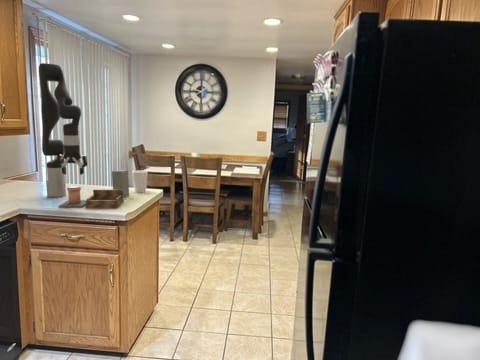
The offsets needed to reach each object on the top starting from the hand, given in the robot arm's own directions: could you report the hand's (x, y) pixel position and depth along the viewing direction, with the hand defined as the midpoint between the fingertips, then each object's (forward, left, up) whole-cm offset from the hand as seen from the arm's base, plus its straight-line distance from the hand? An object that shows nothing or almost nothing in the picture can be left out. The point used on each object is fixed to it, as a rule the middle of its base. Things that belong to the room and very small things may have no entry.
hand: (73, 174), depth 183 cm
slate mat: (0, 0, -17) cm, 17 cm away
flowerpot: (0, 0, -16) cm, 16 cm away
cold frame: (+16, 0, -17) cm, 23 cm away
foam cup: (+28, +36, -17) cm, 48 cm away
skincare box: (+19, +22, -17) cm, 34 cm away
